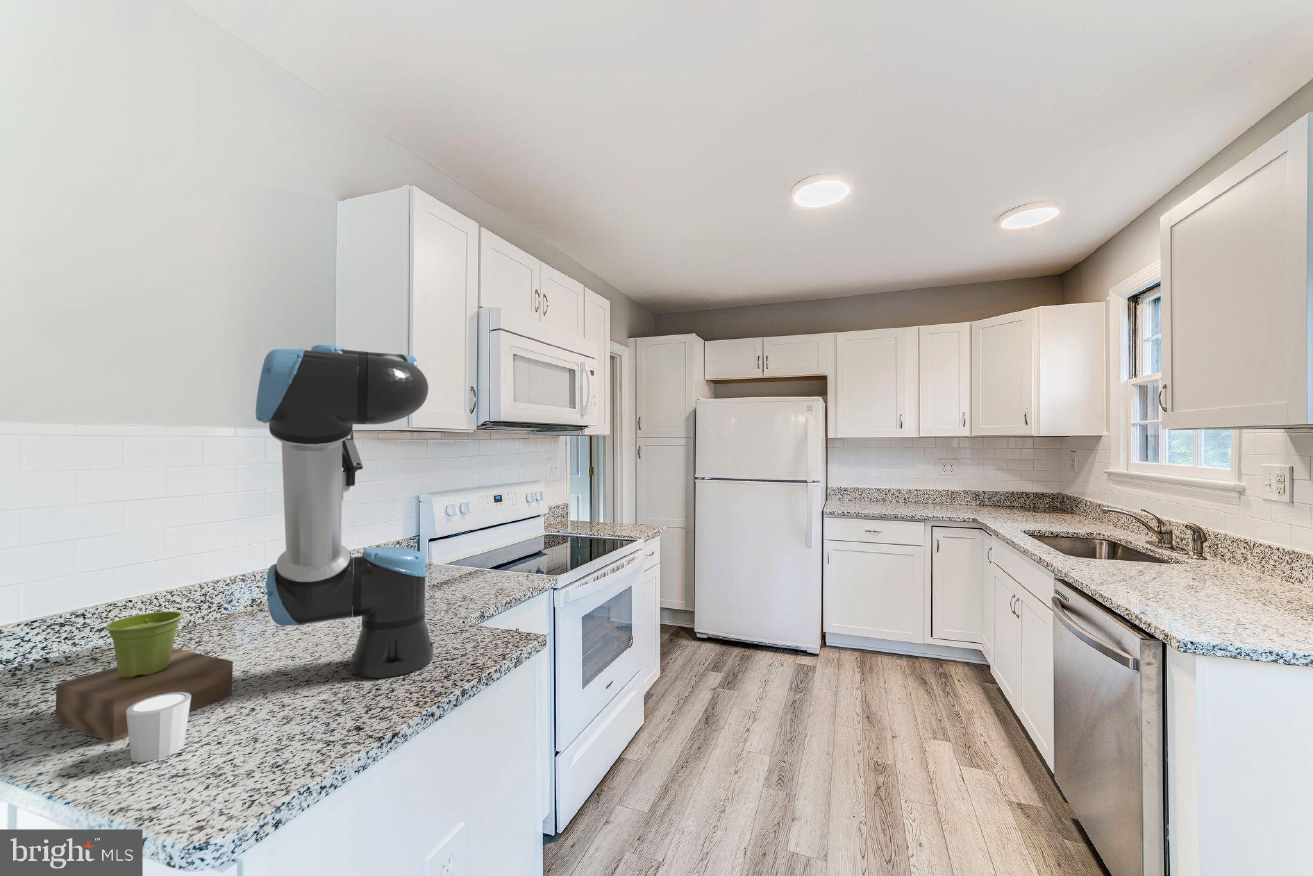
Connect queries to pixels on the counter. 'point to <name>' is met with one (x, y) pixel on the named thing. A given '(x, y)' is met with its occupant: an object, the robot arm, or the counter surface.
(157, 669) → the plant pot
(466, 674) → the counter surface
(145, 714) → the white tapered cup
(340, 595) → the robot arm
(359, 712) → the counter surface
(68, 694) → the walnut block
